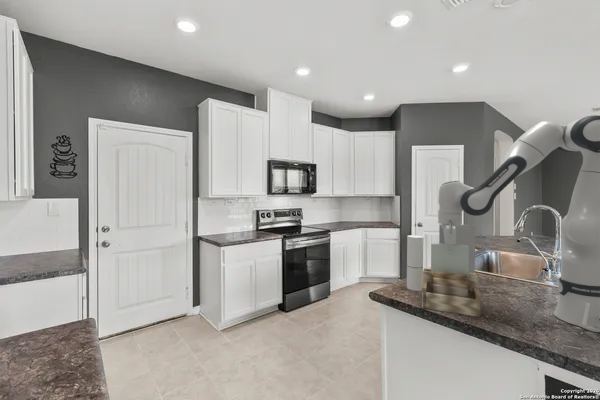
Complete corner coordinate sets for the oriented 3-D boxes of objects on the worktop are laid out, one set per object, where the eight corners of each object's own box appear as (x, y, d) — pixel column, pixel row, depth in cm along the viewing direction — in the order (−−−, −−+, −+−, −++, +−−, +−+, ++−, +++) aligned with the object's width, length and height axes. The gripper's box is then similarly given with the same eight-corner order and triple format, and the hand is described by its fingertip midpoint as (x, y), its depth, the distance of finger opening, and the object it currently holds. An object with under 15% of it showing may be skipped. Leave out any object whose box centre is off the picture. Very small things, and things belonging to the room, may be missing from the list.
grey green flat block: (467, 302, 117) (468, 245, 116) (468, 304, 115) (469, 246, 114) (430, 297, 123) (431, 242, 122) (430, 298, 121) (431, 243, 121)
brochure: (468, 285, 138) (469, 224, 137) (474, 289, 133) (475, 226, 132) (438, 284, 140) (439, 224, 139) (443, 288, 134) (444, 225, 133)
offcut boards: (465, 306, 113) (466, 274, 113) (467, 312, 108) (468, 279, 107) (433, 301, 118) (433, 271, 118) (432, 307, 113) (433, 275, 112)
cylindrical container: (421, 286, 137) (422, 235, 136) (424, 291, 130) (424, 238, 129) (406, 285, 139) (406, 235, 138) (407, 290, 132) (408, 237, 131)
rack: (475, 302, 118) (475, 273, 117) (480, 317, 104) (481, 285, 103) (423, 294, 126) (423, 268, 126) (421, 307, 112) (422, 277, 112)
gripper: (460, 222, 107) (459, 258, 108) (456, 217, 126) (456, 248, 126) (442, 221, 110) (441, 256, 111) (441, 217, 128) (440, 247, 129)
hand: (449, 252), depth 119 cm, fingers open, 8 cm apart
